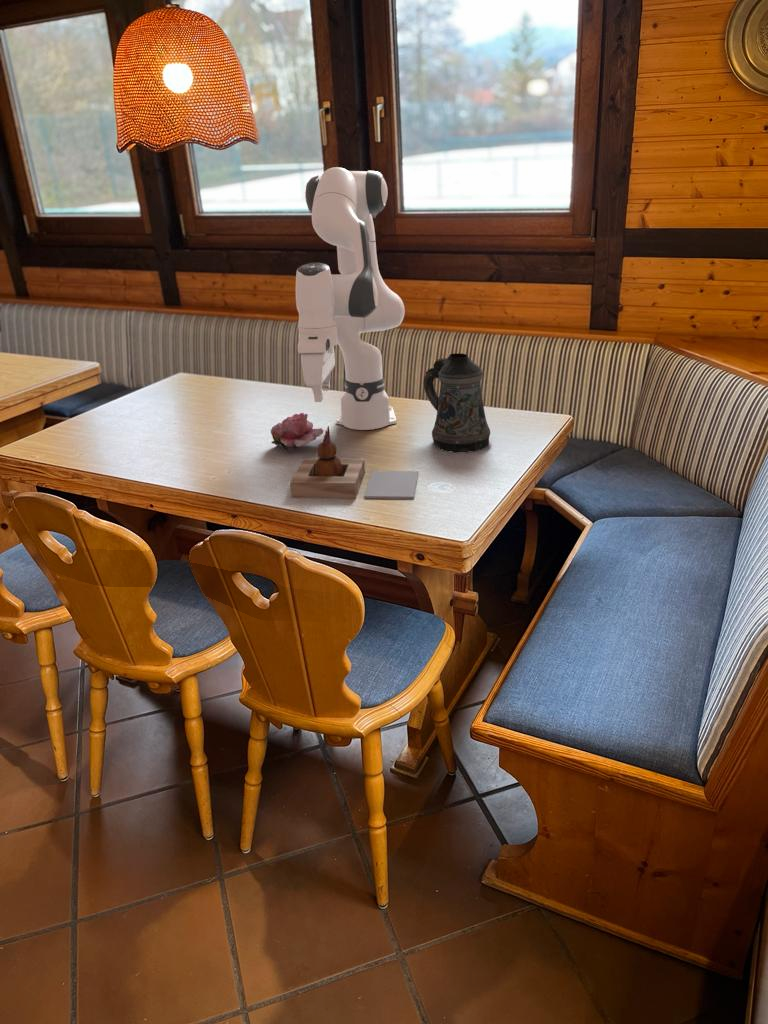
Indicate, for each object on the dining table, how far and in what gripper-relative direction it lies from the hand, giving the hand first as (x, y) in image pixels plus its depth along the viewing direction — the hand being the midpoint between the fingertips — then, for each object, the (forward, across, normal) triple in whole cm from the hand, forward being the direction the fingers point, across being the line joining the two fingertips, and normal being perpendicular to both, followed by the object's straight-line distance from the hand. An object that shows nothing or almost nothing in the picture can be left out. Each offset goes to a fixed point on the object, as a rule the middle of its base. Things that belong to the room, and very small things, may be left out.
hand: (322, 395), depth 181 cm
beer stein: (+23, -31, +31) cm, 50 cm away
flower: (+23, -26, -14) cm, 38 cm away
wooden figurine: (+24, 0, 0) cm, 24 cm away
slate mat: (+23, 0, +16) cm, 28 cm away
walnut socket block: (+23, 0, 0) cm, 23 cm away
